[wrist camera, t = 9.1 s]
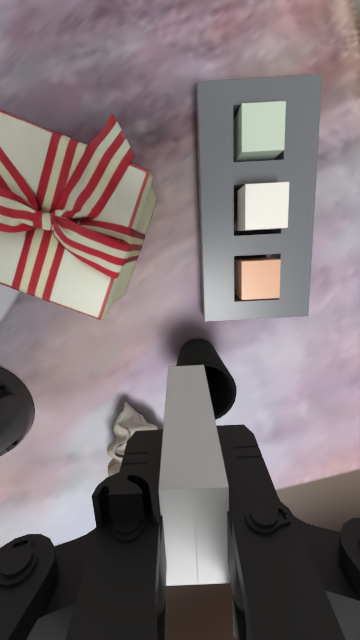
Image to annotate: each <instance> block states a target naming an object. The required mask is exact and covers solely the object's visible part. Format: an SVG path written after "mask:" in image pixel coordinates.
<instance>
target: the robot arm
mask: <svg viewBox="0 0 360 640" xmlns="http://www.w3.org/2000/svg"><path fill="white" fill-rule="evenodd" d="M33 421H34V404H33V400H32V398H31V395H30V393H29V392H28V390H27V388H26V387H25V386H24V384H23V383H22V382H21V381H20V380H19V379H18V378H17V377H15V376H14V375H13V374H11V373H10V372H8V371H6V370H4V369H2V368H0V456H2V455H3V454H5V453H7V452H9V451H10V450H12V449H13V448H14V447H16V446H17V445H18V444H19V443H20V442H21V441H22V440H23V438H24V437H25V436H26V434H27V433H28V432H29V430H30V428H31V426H32V424H33ZM92 501H93V507H94V514H95V521H96V528H95V529H94V530H92V531H91V532H89V533H88V534H86V535H84V536H82V537H80V538H77V539H75V540H72V541H69V542H66V543H63V544H60V545H57V546H55V547H54V545H53V543H52V542H51V540H50V538H48V537H46V536H43V535H41V534H28V535H25V536H22V537H19V538H16V539H14V540H12V541H11V542H9V543H7V544H6V545H4V546H3V547H1V548H0V640H166V628H167V611H166V599H165V597H166V596H165V594H166V586H170V585H192V584H215V583H230V579H231V585H232V591H233V637H237V640H360V518H352V519H351V520H349V521H347V522H346V523H344V525H343V527H342V529H341V532H337V531H332V530H329V529H324V528H320V527H316V526H313V525H310V524H307V523H305V522H303V521H301V520H299V519H297V518H296V517H295V516H293V514H292V513H291V511H290V510H289V508H288V507H286V506H285V505H284V504H283V503H282V502H280V500H279V498H278V496H277V493H276V490H275V488H274V485H273V483H272V480H271V477H270V475H269V472H268V470H267V467H266V465H265V462H264V459H263V458H262V454H261V452H260V449H259V448H258V444H257V441H256V439H255V436H254V434H253V433H252V432H251V431H250V430H249V429H248V428H247V427H246V426H245V425H224V426H216V422H215V417H214V412H213V407H212V402H211V398H210V393H209V388H208V383H207V378H206V373H205V368H204V365H192V366H172V367H168V376H167V389H166V402H165V415H164V427H163V430H143V431H135V432H134V434H133V435H132V436H131V437H130V438H129V439H128V441H127V443H126V447H125V451H124V456H123V459H122V463H121V467H120V471H119V472H118V473H116V474H114V475H112V476H109V477H107V478H106V479H105V480H103V481H102V482H101V483H100V484H99V485H98V486H97V487H96V489H95V491H94V493H93V494H92Z"/></svg>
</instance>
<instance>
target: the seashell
mask: <svg viewBox="0 0 360 640" xmlns="http://www.w3.org/2000/svg"><path fill="white" fill-rule="evenodd" d="M143 430H158V429H157V426H155V425H154V424H151V423H147V422H146V420H145V419H144V417H143V416H142V415H140V414H138V413H137V412H136V411H135V410H134V409H133V408H132V407H131V406H129V404H128V403H127V402H125V404H124V410H123V411H122V412H121V413H120V414H119V416H118V418H117V420H116V421H115V424H114V427H113V431H114V434H115V436H116V440H115V442H114V443H111V444H110V445H109V446H108V448H107V453H108V455H109V456H110V457H112V458H113V459H112V460H111V461H110V463H109V465H108V475H109V476H112V475H114V474H116V473H118V472H119V471H120V467H121V463H122V459H123V456H124V451H125V447H126V443H127V441H128V439H129V438H130V437H131V436H132V435H133V434H134V432H135V431H143Z"/></svg>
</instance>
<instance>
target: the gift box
mask: <svg viewBox="0 0 360 640" xmlns="http://www.w3.org/2000/svg"><path fill="white" fill-rule="evenodd" d="M133 158H134V156H133V153H132V150H131V148H130V145H129V142H128V141H127V139H126V137H125V135H124V133H123V132H122V129H121V127H120V126H119V124H118V122H117V120H116V118H115V117H114V115H113V114H112V113H111V115H110V117H109V119H108V122H107V123H106V125H105V127H104V128H103V129H102V130H101V131H100V132H99V133H98V135H97V136H96V137H95V138H94V139H93V140H92V141H91V142H90V144H89V145H86V144H84V143H81V142H79V141H76V140H74V139H71V138H69V137H67V136H65V135H63V134H60V133H58V132H53V131H51V130H48V129H46V128H43V127H41V126H39V125H36V124H34V123H31V122H29V121H27V120H24V119H22V118H19V117H17V116H14V115H12V114H10V113H7V112H5V111H2V110H0V284H2V285H5V286H8V287H11V288H13V289H16V290H18V291H21V292H24V293H27V294H30V295H32V296H35V297H38V298H41V299H43V300H46V301H48V302H53V303H55V304H58V305H61V306H64V307H66V308H69V309H72V310H75V311H77V312H80V313H83V314H86V315H88V316H91V317H94V318H97V319H99V320H102V319H103V318H104V317H105V316H106V315H107V314H108V312H109V309H110V306H111V305H113V304H114V303H115V302H116V301H117V300H118V299H120V298H121V297H122V296H123V295H124V294H125V292H126V290H127V287H128V284H129V281H130V278H131V275H132V272H133V269H134V266H135V263H136V260H137V258H138V256H139V253H140V251H141V248H142V244H143V241H144V238H145V234H146V231H147V228H148V225H149V223H150V220H151V217H152V213H153V210H154V207H155V204H156V201H157V196H156V194H155V192H154V190H153V187H152V185H151V183H152V180H153V177H152V175H151V173H150V171H149V170H147V169H144V168H142V167H140V166H137V165H135V164H132V163H131V161H132V159H133Z"/></svg>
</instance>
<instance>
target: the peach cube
mask: <svg viewBox="0 0 360 640" xmlns="http://www.w3.org/2000/svg"><path fill="white" fill-rule="evenodd" d="M234 262H235V294H236V295H237V296H238V297H239V298H240V299H241V300H250V299H270V298H279V297H280V266H281V260H280V259H275V258H270V257H265V258H246V259H234Z"/></svg>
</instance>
